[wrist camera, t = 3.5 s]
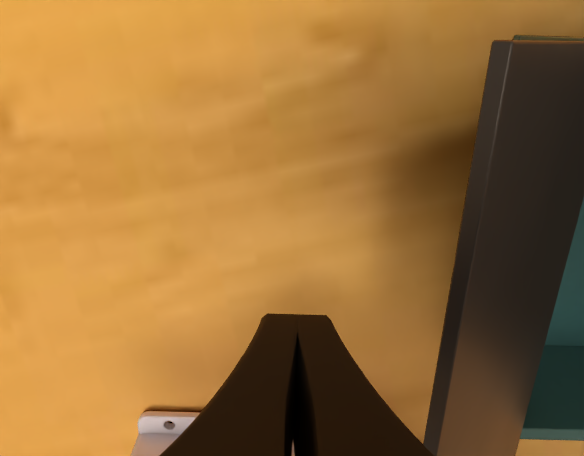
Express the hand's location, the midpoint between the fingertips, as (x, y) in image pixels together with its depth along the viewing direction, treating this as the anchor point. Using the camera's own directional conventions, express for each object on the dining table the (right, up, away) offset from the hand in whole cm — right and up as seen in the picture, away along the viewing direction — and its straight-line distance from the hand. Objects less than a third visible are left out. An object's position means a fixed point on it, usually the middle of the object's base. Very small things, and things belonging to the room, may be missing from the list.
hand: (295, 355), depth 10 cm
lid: (+5, 0, +2) cm, 6 cm away
